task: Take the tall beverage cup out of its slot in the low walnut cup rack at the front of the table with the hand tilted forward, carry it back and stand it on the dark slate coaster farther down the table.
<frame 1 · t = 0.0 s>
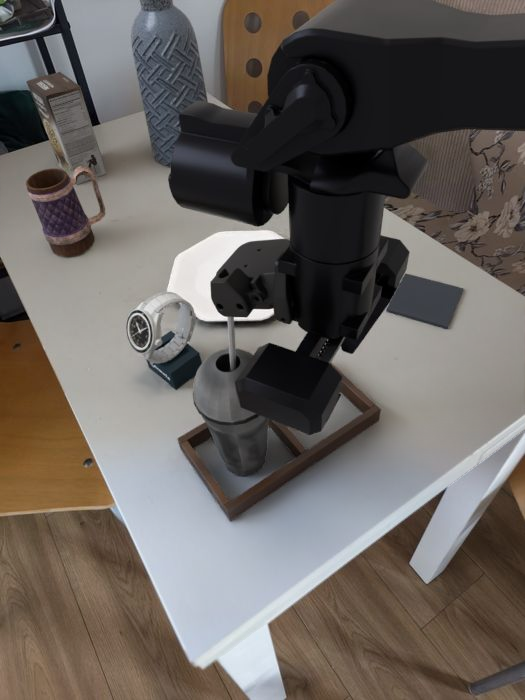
hand: (327, 387, 44), 13 cm above the table, tool pointing down, fingers open, 9 cm apart
cup rack: (280, 435, 56), on the table
mug: (84, 243, 83), on the table
vase: (185, 153, 101), on the table
watch: (175, 369, 64), on the table
plate: (240, 280, 74), on the table
coffee box: (83, 171, 99), on the table
coaster: (425, 300, 69), on the table
beverage cup: (245, 458, 55), resting in cup rack
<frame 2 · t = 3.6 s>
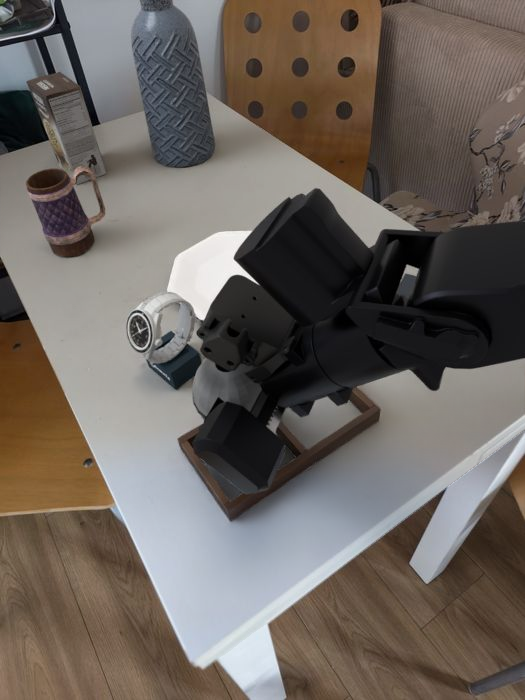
hand: (221, 399, 48), 10 cm above the table, tool tilted 45°, fingers closed on beverage cup, 7 cm apart
beverage cup: (244, 458, 55), resting in cup rack, touching gripper
everything else where it was.
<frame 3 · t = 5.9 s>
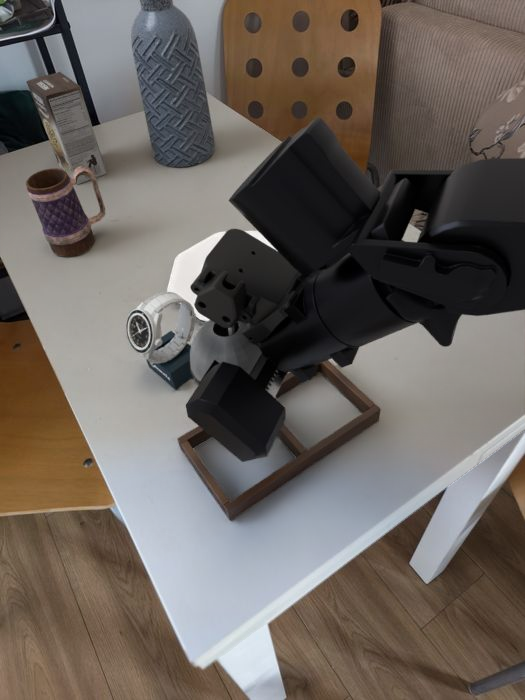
hand: (220, 369, 46), 13 cm above the table, tool tilted 45°, fingers closed on beverage cup, 7 cm apart
beverage cup: (246, 435, 52), point 3 cm above the table, touching gripper
everything else where it was.
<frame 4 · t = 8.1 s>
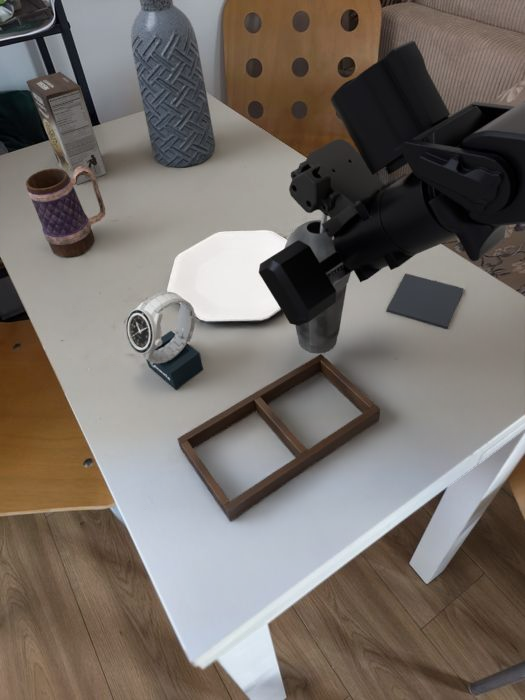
hand: (308, 269, 54), 13 cm above the table, tool tilted 45°, fingers closed on beverage cup, 7 cm apart
beverage cup: (317, 340, 61), point 3 cm above the table, touching gripper
everything else where it was.
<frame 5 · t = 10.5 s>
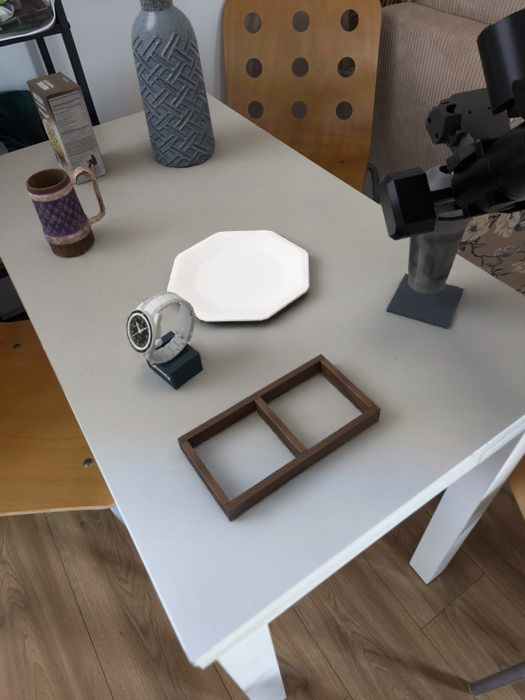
hand: (434, 210, 60), 13 cm above the table, tool tilted 45°, fingers closed on beverage cup, 7 cm apart
beverage cup: (425, 283, 66), point 3 cm above the table, touching gripper
everything else where it was.
when the fingers open (10 cm above the table, at t = 12.5 s): beverage cup stays where it is, resting on coaster.
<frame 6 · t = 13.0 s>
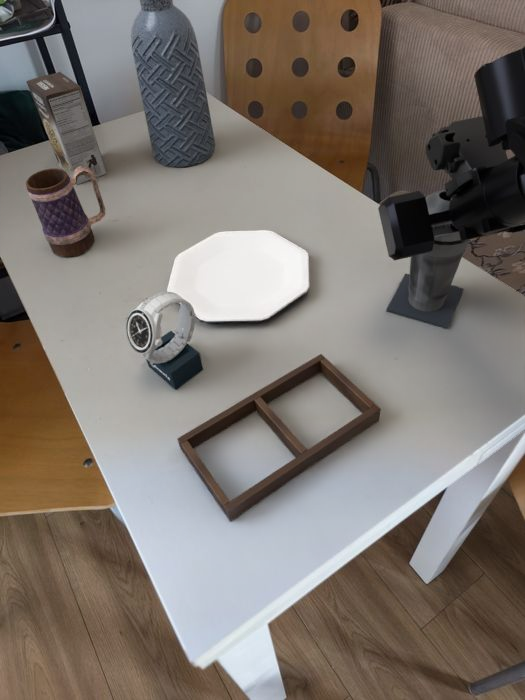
hand: (433, 228, 62), 10 cm above the table, tool tilted 45°, fingers open, 9 cm apart
beverage cup: (425, 300, 68), resting on coaster
everything else where it was.
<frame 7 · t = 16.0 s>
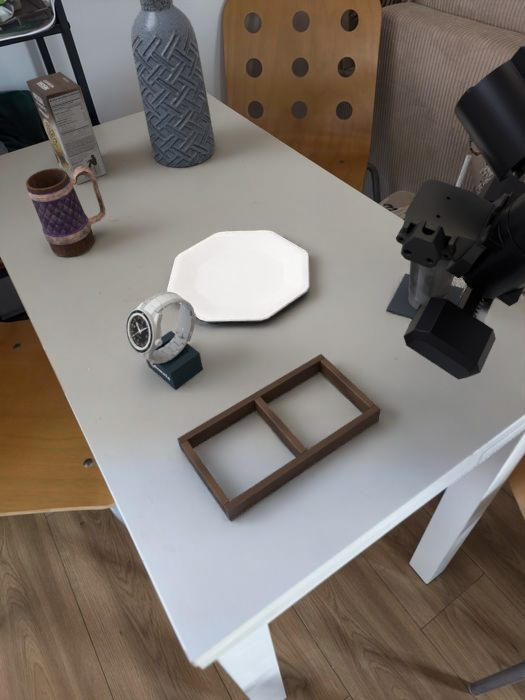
hand: (432, 305, 51), 12 cm above the table, tool tilted 30°, fingers open, 9 cm apart
nothing on the table moved.
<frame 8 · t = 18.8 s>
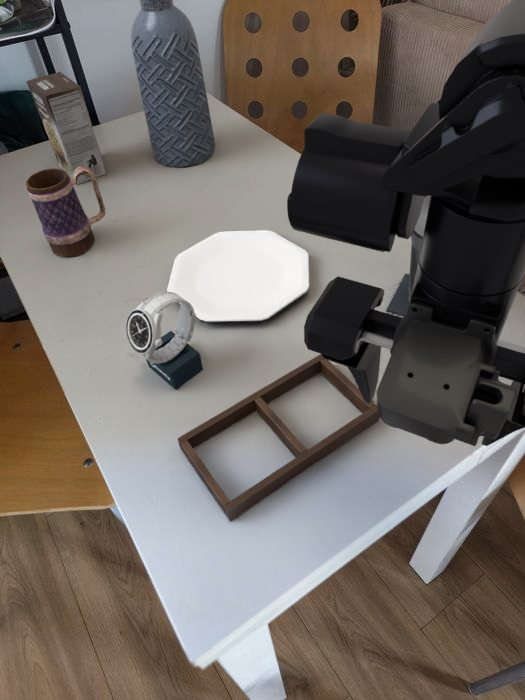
hand: (425, 419, 41), 13 cm above the table, tool pointing down, fingers open, 9 cm apart
nothing on the table moved.
at the end: beverage cup 0.2 cm off-centre on the coaster, point 0.2 cm above the coaster's base; beverage cup tilted 0°; the gripper is holding nothing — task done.
